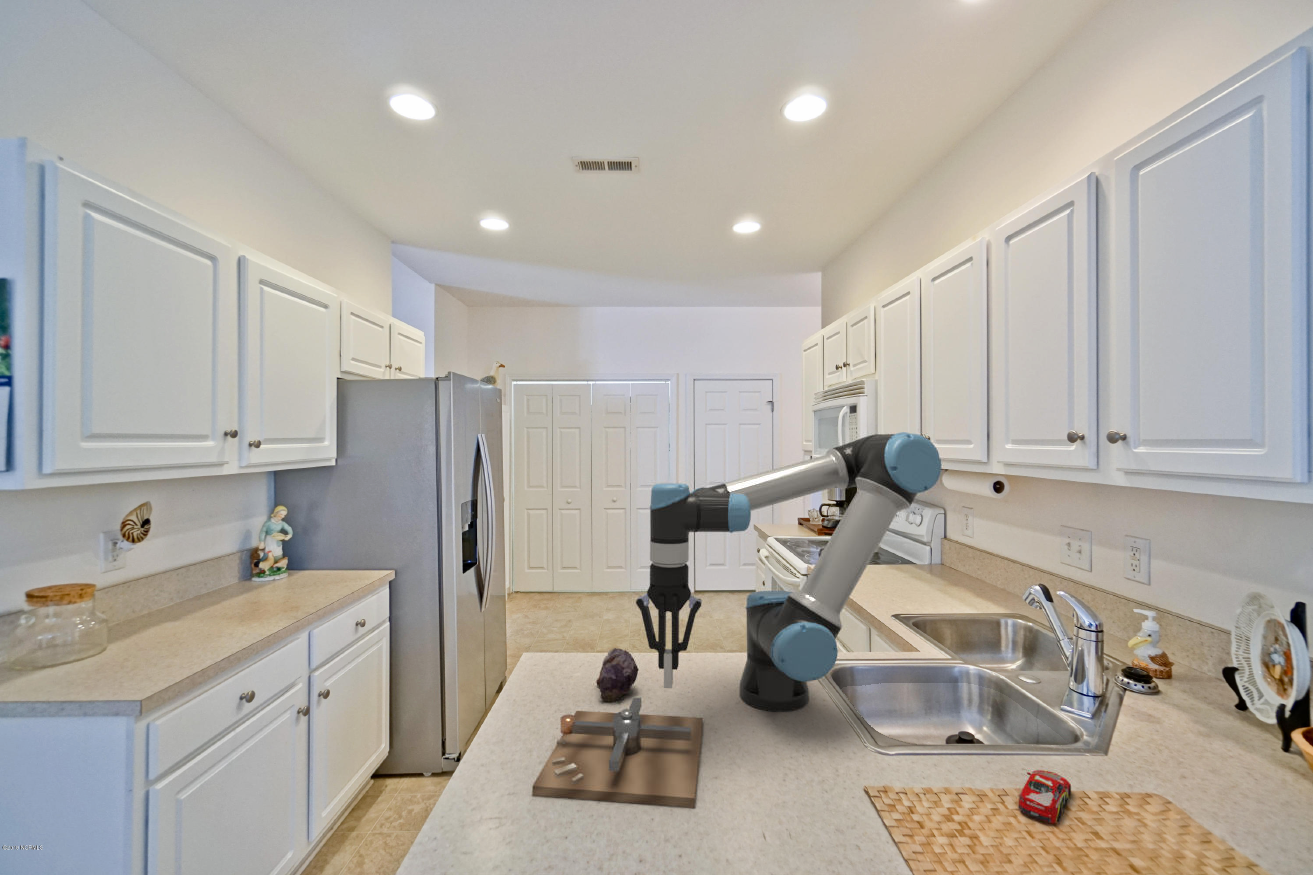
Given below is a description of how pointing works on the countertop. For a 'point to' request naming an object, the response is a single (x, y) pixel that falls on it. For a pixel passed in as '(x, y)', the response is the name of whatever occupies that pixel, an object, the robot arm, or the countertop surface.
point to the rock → (617, 674)
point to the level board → (624, 766)
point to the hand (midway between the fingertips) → (668, 685)
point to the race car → (1044, 796)
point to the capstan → (624, 732)
